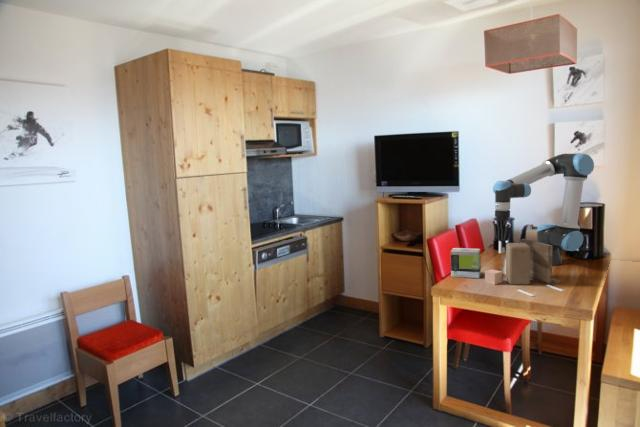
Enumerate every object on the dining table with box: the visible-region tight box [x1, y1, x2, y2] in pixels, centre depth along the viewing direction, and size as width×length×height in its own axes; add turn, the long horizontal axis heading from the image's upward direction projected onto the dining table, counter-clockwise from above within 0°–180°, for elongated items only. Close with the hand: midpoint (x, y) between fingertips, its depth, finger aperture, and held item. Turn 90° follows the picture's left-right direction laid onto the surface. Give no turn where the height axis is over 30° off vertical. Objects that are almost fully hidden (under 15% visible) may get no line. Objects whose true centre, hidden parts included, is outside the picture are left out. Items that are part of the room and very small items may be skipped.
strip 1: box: [516, 288, 535, 297], centre depth 216 cm, size 2×10×1 cm, turn 17°
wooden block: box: [505, 242, 531, 286], centre depth 232 cm, size 10×10×20 cm
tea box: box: [450, 247, 482, 279], centre depth 249 cm, size 15×10×15 cm
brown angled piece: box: [519, 238, 561, 285], centre depth 236 cm, size 8×20×20 cm, turn 17°
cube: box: [484, 269, 503, 285], centre depth 235 cm, size 6×6×6 cm
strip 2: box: [545, 284, 565, 292], centre depth 221 cm, size 2×10×1 cm, turn 17°
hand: (501, 252), depth 243 cm, fingers closed
